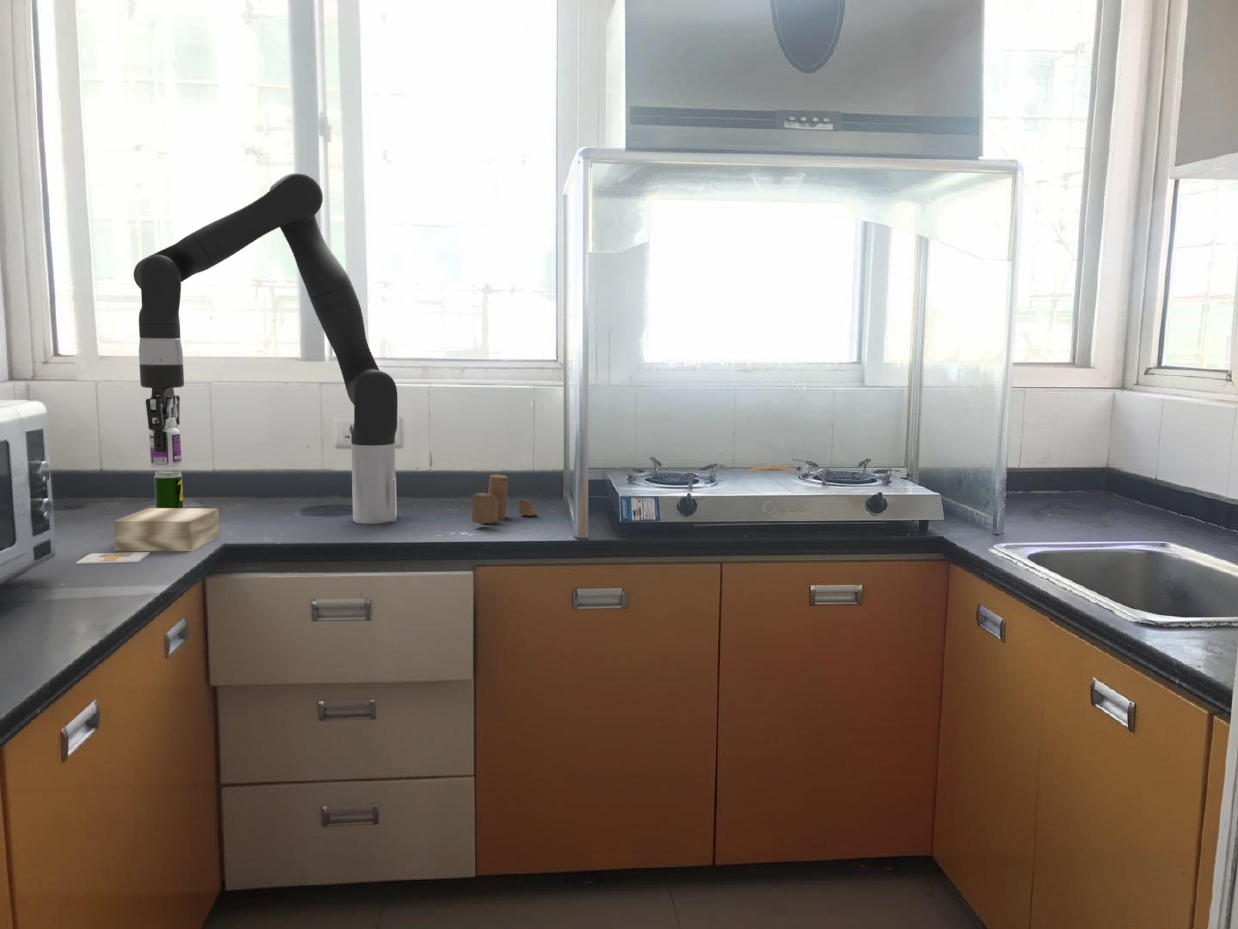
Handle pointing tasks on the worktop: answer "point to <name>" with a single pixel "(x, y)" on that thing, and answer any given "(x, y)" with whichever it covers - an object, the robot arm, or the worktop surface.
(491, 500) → the wooden block set
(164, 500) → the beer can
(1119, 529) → the worktop surface
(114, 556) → the card
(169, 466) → the pill bottle
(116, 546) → the birch block
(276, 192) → the robot arm
